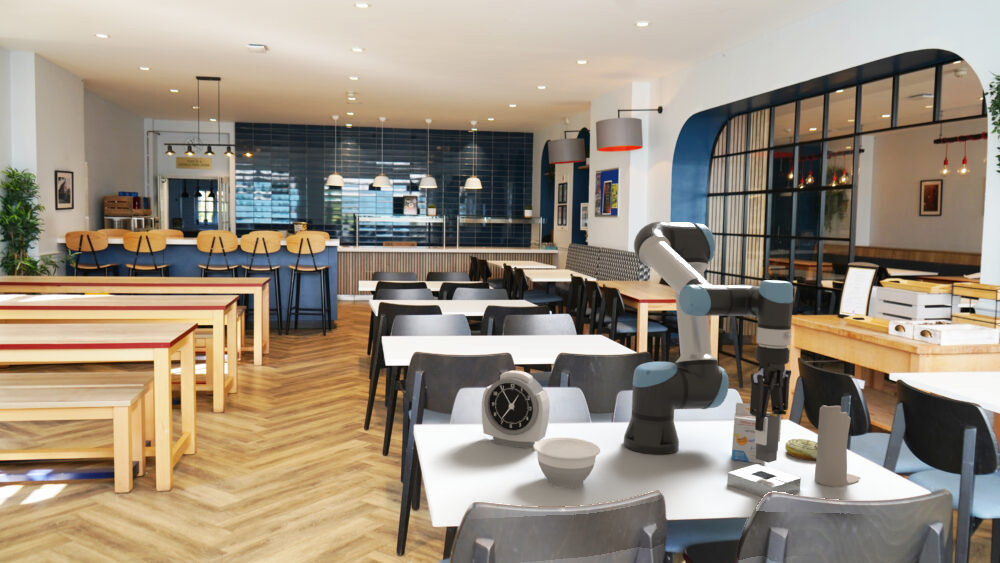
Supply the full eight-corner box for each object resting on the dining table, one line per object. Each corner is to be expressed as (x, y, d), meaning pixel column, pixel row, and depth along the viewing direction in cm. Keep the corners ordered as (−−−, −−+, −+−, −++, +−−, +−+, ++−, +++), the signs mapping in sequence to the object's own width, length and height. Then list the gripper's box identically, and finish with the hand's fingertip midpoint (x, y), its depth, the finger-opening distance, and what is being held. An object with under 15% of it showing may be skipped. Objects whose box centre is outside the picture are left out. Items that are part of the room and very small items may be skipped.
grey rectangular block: (750, 458, 183) (753, 411, 183) (762, 455, 187) (765, 409, 186) (769, 464, 180) (772, 416, 179) (781, 460, 183) (784, 413, 182)
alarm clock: (478, 442, 212) (480, 370, 210) (490, 434, 220) (492, 365, 218) (539, 452, 205) (542, 378, 203) (549, 443, 213) (552, 372, 211)
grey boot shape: (867, 479, 192) (873, 401, 191) (834, 488, 185) (840, 407, 183) (841, 471, 198) (847, 395, 197) (808, 479, 191) (814, 401, 189)
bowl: (550, 497, 172) (552, 460, 172) (521, 474, 187) (522, 440, 186) (611, 489, 179) (613, 454, 178) (577, 468, 193) (579, 435, 193)
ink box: (731, 460, 204) (735, 406, 203) (731, 454, 209) (735, 402, 208) (765, 464, 202) (768, 409, 200) (764, 458, 206) (768, 405, 205)
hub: (727, 484, 185) (727, 471, 185) (755, 475, 192) (756, 463, 192) (771, 500, 176) (772, 486, 175) (799, 490, 183) (800, 477, 183)
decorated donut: (821, 464, 204) (822, 451, 203) (780, 456, 210) (781, 442, 210) (830, 455, 212) (831, 442, 212) (790, 447, 218) (791, 434, 218)
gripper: (765, 350, 173) (759, 451, 174) (808, 345, 184) (802, 440, 185) (736, 346, 178) (731, 443, 180) (779, 340, 189) (774, 433, 191)
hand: (767, 441), depth 183 cm, fingers closed on grey rectangular block, 5 cm apart
